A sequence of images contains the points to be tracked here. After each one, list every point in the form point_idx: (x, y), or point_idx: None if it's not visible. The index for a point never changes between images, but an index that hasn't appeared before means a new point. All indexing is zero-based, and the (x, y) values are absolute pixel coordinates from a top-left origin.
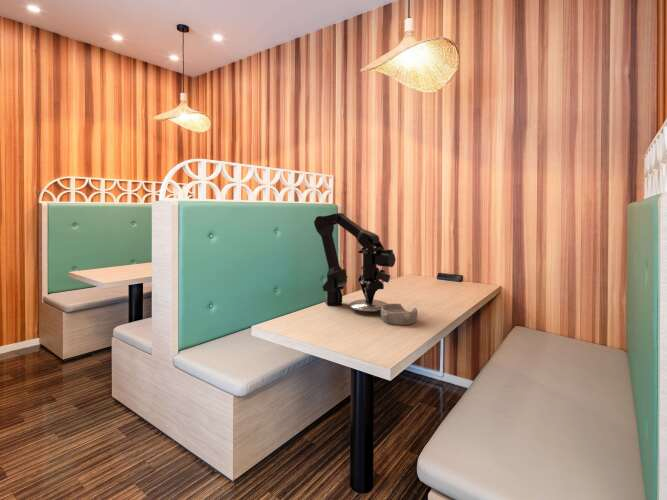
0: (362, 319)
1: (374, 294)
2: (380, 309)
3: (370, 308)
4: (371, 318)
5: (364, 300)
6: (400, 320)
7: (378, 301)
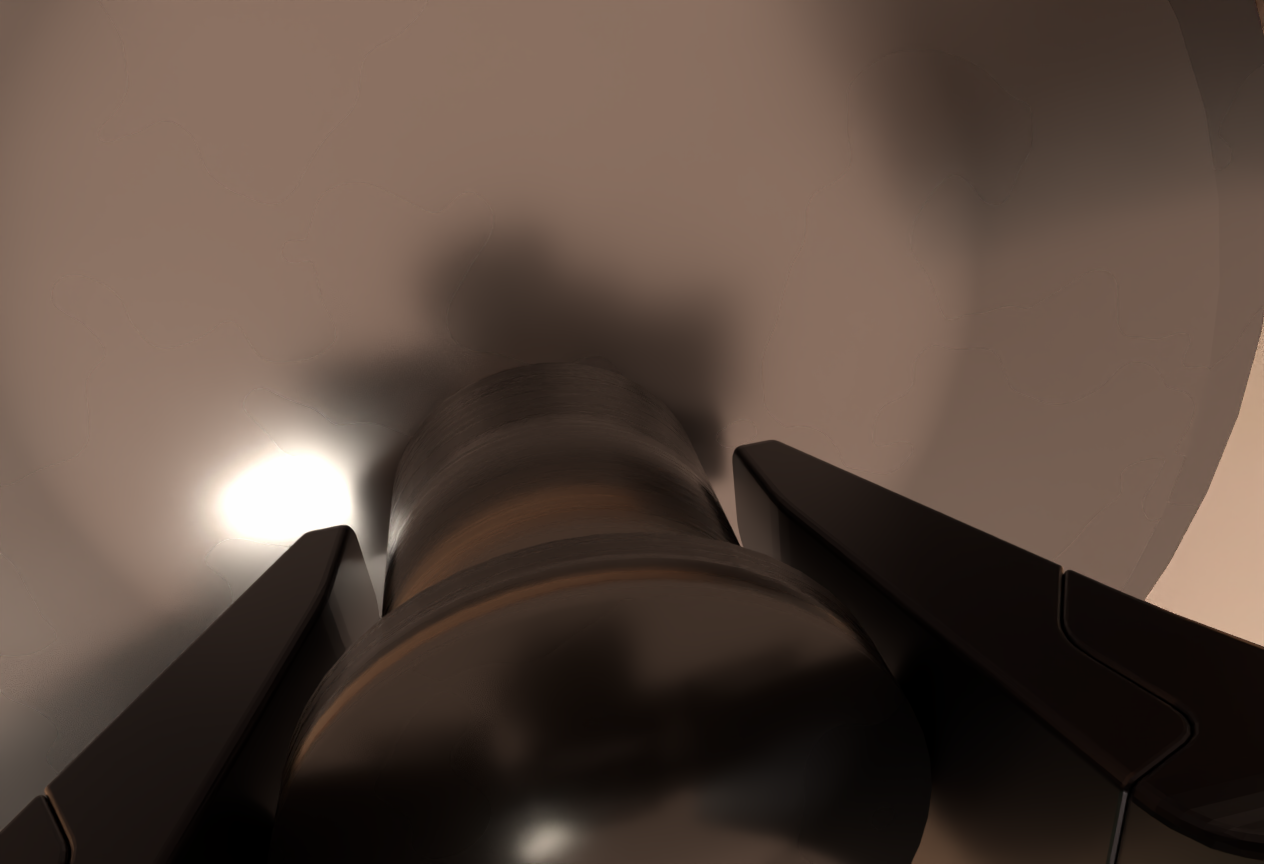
0: (1245, 563)
1: (1195, 631)
2: (1258, 121)
3: (1149, 478)
4: (1255, 371)
5: (51, 651)
6: None
7: (136, 10)
